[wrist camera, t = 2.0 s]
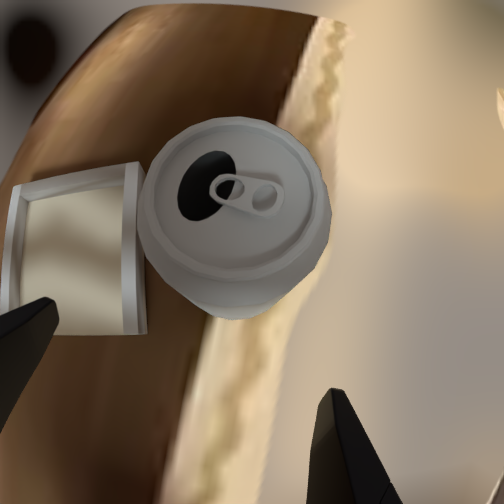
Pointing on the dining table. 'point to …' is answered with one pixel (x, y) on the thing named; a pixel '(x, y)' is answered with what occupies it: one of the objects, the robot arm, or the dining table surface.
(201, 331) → the dining table surface
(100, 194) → the rail dock
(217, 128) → the can
